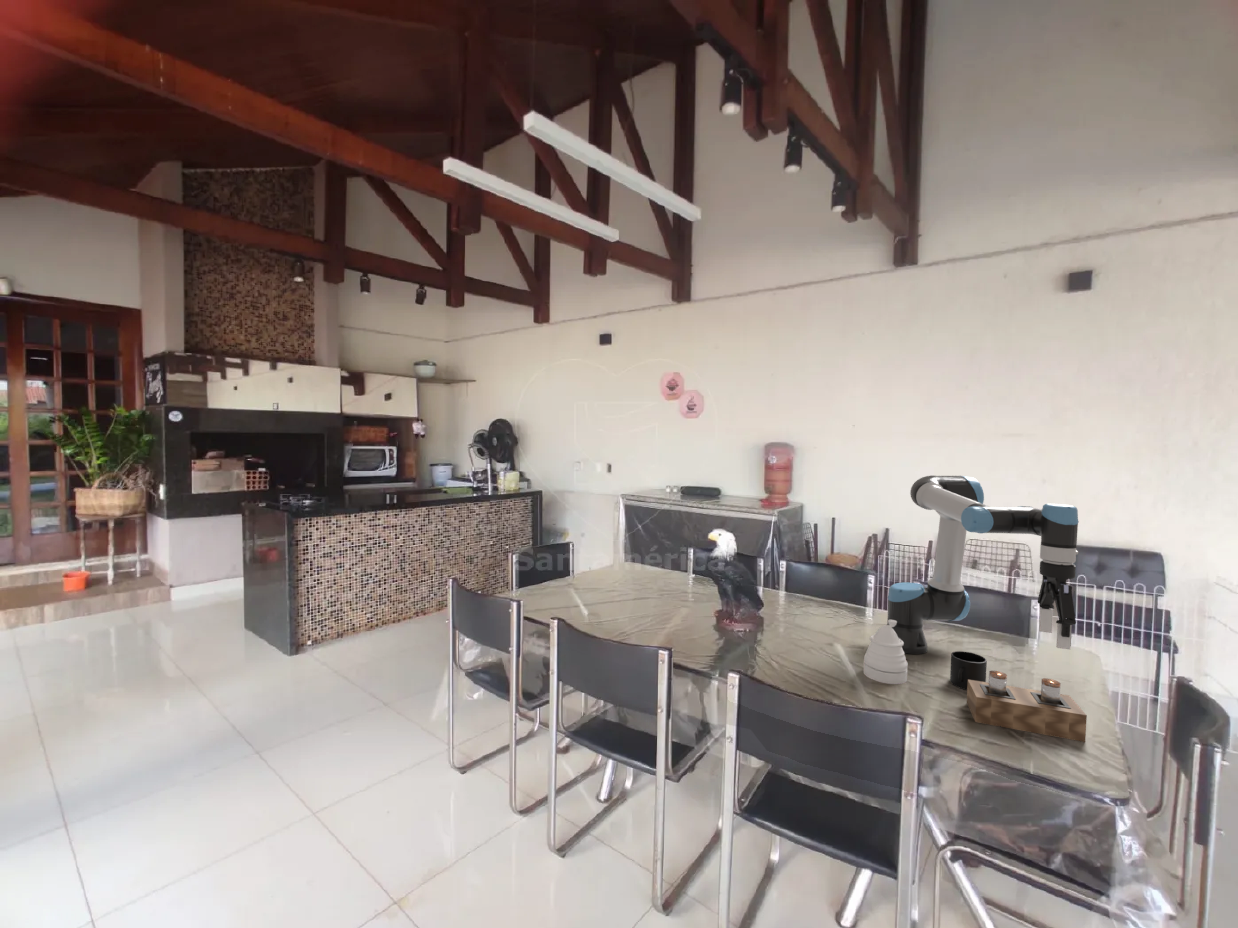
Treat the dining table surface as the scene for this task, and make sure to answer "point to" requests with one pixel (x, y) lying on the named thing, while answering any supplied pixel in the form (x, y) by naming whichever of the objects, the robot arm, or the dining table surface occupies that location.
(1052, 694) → the peg
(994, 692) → the peg
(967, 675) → the mug
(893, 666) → the honey pot
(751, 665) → the dining table surface
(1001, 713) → the socket block
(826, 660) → the dining table surface
